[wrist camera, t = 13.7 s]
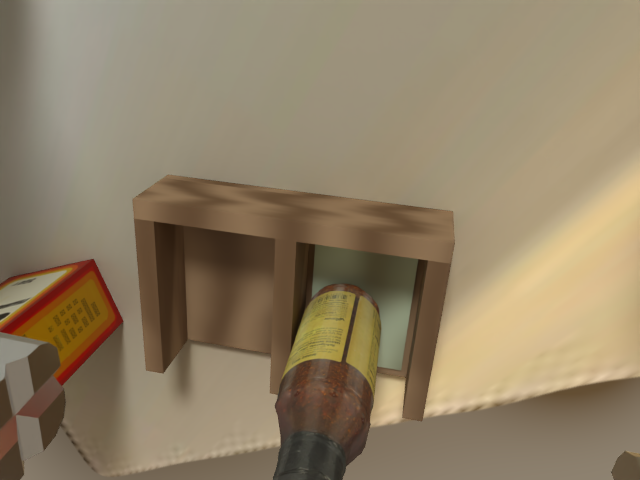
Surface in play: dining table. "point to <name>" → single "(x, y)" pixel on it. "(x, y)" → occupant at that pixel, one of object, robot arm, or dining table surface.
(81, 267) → the baking soda box
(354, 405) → the sauce bottle
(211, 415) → the dining table surface
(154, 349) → the wooden divided tray
